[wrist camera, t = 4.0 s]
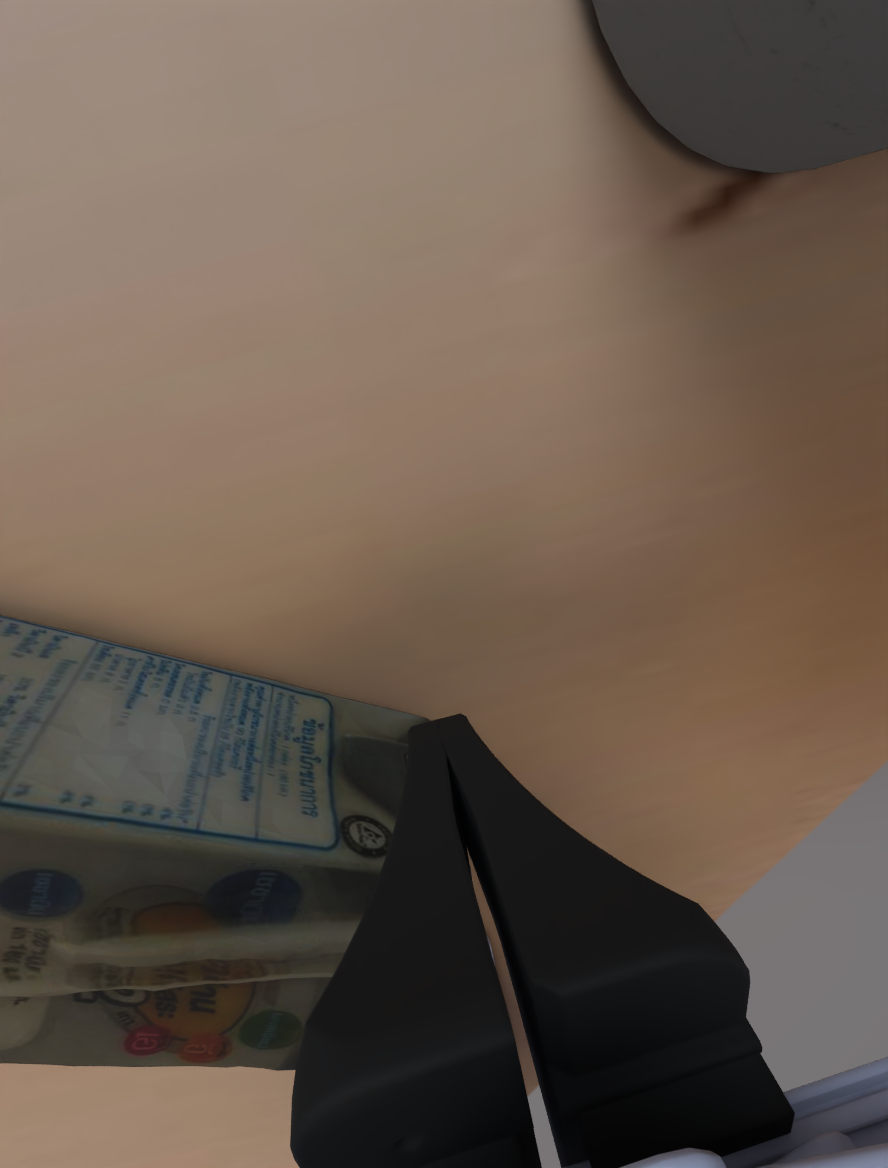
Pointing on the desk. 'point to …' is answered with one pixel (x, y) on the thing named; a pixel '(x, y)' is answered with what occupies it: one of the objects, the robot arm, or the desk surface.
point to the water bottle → (758, 76)
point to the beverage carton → (178, 852)
